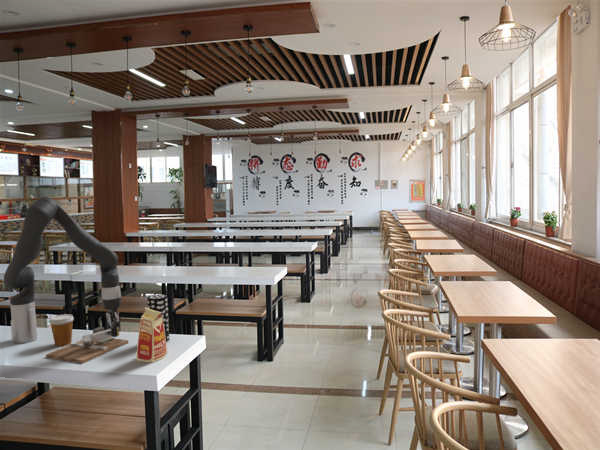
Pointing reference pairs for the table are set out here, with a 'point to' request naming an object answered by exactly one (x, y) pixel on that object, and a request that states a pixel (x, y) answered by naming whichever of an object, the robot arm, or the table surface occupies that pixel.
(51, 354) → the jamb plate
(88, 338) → the swing bar
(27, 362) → the table surface
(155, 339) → the milk carton
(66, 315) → the disposable coffee cup
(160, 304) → the spotted tube
